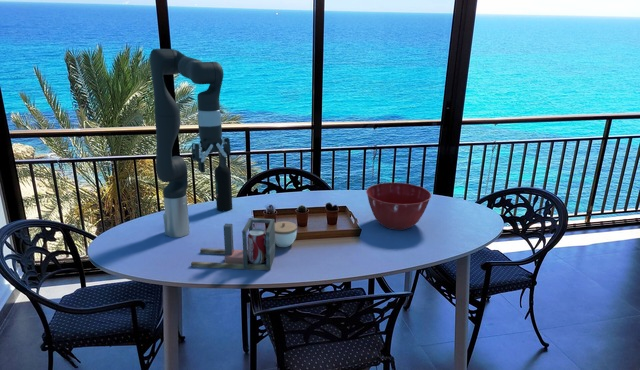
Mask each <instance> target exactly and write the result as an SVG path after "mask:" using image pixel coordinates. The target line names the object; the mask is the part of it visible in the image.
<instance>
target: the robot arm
mask: <svg viewBox="0 0 640 370" xmlns="http://www.w3.org/2000/svg"><path fill="white" fill-rule="evenodd" d="M149 64H150V65H149V66H150V67H149V68H150V74H151V81H152V87H153V99H154V100H153V101H154V124H155V134H156V135H155V136H156V137H155V138H156V153H155V156H156V157H155V170H156V175H157V177H158V179H159V180H160V181H161V182H163V183H167V184H166V186H165V187H163V190H162V197H163V207H164V213H163V214H162V216H163V225H164V226H163V227H164V235H165V236H168V237H170V238H183V237H186V236H187V235H189V234H190V222H189V221H190V220H189V207H188V196H187V189H188V188H189V186H188V185H189V183H188V181H189V180H188V177H189V176H188V166H187V163H186V161H185V160H184V158H183V157H181V156H180V155H179V156H178V155H174V156H173V147H174V144H175V141H176V139H177V136H178V134H179V131H180V127H181V111H180V107H179V105H178V104H177V103H176V101H175V99H174V98H173V97H172V95H171V93H170V92H169V91H168V89H167V87H166V83H165V79H164V78H165V77H164V75H176V74H180V75H181V76H182V77H184V78H187V79H188V80H190V81H191V82H192V83H193V84H195V85H208V88H207V89H206V90H203V91H200V92H199V93H197V97H196V98H197V99H196V100H197V109H198V110H197V111H198V112H197V122H198V123H197V125H198V136H199V140H200V141H199V142H198V143H197V142H192V143H191V160H192V161H195V162H197V168H198V171H199V172H200V173H202V174H204V173H205V172H206V165H205V164H206V163H205V160H206V158H207V157H208V156H209V155H210V154H211V155H212V154H214V153H217V154H218V156H219V155H220V167H222V168H224V167H226V166H227V157H228V155H231V153H232V152H231V141H230V137H225V136H223V130H222V128H223V127H222V116H221V106H220V94H221V89H222V85H223V81H224V68H223V66H222V64H220V63H219V62H218V61H201V60H200V59H197V58H194V57H189V56H187V55H185V54H184V53H182V52H181V51H179V50H177V49H174V48H173V49H172V48H153V49H151V52H150V54H149ZM222 136H223V137H222ZM222 146H223V147H222ZM222 148H223V149H224V150H223V149H222Z"/></svg>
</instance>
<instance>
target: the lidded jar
mask: <svg viewBox="0 0 640 370" xmlns="http://www.w3.org/2000/svg"><path fill="white" fill-rule="evenodd" d="M297 229H298V227H297V224H296V223H294V222H291V221H277V222H275V246H277V247H278V248H279V247H280V248H287V247H291V245H292V244H293V243H294V242H295V240H296V239H297V232H298V230H297Z"/></svg>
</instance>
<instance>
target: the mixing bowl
mask: <svg viewBox="0 0 640 370" xmlns="http://www.w3.org/2000/svg"><path fill="white" fill-rule="evenodd" d="M366 195H367V199H368V204H369V206H370V207H369V208H370V210H371V212H372V214H373V216H374V218H375V220H376V221H377V222H378V224H380V225H382V226H383V227H385V228H387V229H390V230H394V231H395V230H396V231H401V230H402V231H403V230H407V229H409V228H411V227H413V226H415V225H417V223H418V222H420V220H421V218H422V217H423V215H424V213H425V211H426V209H427V207H428V204H429V202H430V199H431V198H432V193H431V192H430V191H429V190H428V189H426V188H425V187H422V186H419V185H417V184H416V185H415V184H411V183H405V182H382V183H378V184H373V185H370V186H369V187H368V188H367V189H366Z"/></svg>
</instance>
